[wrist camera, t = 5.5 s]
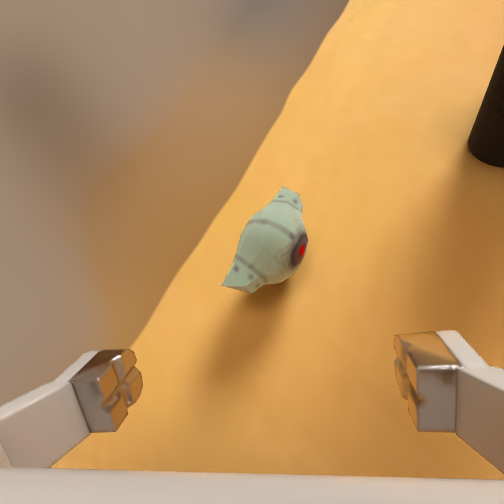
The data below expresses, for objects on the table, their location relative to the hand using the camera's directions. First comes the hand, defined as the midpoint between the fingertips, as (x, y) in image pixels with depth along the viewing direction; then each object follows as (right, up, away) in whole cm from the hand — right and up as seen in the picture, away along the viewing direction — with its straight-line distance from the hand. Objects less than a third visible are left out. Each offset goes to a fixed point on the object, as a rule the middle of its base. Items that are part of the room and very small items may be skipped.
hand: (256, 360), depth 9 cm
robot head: (+2, +2, +14) cm, 14 cm away
